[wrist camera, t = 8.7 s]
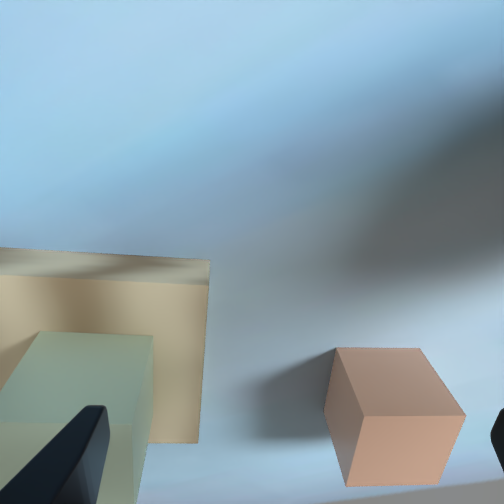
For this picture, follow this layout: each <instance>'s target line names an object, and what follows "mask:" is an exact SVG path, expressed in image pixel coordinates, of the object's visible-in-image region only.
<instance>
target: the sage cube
mask: <svg viewBox="0 0 504 504" xmlns="http://www.w3.org/2000/svg"><path fill="white" fill-rule="evenodd" d="M87 405H105V406H106V408H107V412H108V419H109V427H110V441H109V446H108V451H107V455H106V460H105V465H104V469H103V474H102V479H101V483H100V488H99V493H98V497H97V502H96V504H136V502H137V497H138V492H139V486H140V481H141V476H142V471H143V465H144V460H145V455H146V450H147V444H148V439H149V434H150V429H151V423H152V418H153V336H145V335H121V334H98V333H74V332H51V331H40V332H39V334H38V335H37V337H36V338H35V340H34V341H33V343H32V344H31V346H30V347H29V349H28V350H27V352H26V353H25V355H24V356H23V358H22V359H21V361H20V362H19V364H18V365H17V367H16V368H15V370H14V371H13V373H12V374H11V376H10V377H9V379H8V381H7V382H6V384H5V385H4V387H3V388H2V390H1V391H0V490H1V489H2V488H3V487H4V486H5V485H6V484H7V483H8V482H9V481H10V480H11V479H12V478H13V477H14V476H15V475H16V474H17V473H18V472H19V471H20V470H21V469H22V468H23V467H24V466H25V465H26V464H27V463H28V462H29V461H30V460H31V459H32V458H33V457H34V456H35V455H36V454H37V453H38V452H39V451H40V450H41V449H42V448H43V447H44V446H45V445H46V444H47V443H48V442H49V441H50V440H51V439H52V438H53V437H54V436H55V435H56V434H57V433H58V432H59V431H60V430H61V429H63V428H64V427H65V426H66V425H67V424H68V423H69V422H70V421H71V420H72V419H73V418H74V417H75V416H76V415H77V414H78V413H79V412H80V411H81V410H82V409H83V408H84V407H85V406H87Z"/></svg>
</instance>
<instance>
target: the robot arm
mask: <svg viewBox="0 0 504 504" xmlns="http://www.w3.org/2000/svg"><path fill="white" fill-rule="evenodd" d="M109 441H110V427H109V419H108V412H107V408H106V406H105V405H87V406H85V407H84V408H83V409H82V410H81V411H80V412H79V413H78V414H77V415H76V416H75V417H74V418H73V419H72V420H71V421H70V422H69V423H68V424H67V425H66V426H65V427H64V428H63V429H61V430H60V431H59V432H58V433H57V434H56V435H55V436H54V437H53V438H52V439H51V440H50V441H49V442H48V443H47V444H46V445H45V446H44V447H43V448H42V449H41V450H40V451H39V452H38V453H37V454H36V455H35V456H34V457H33V458H32V459H31V460H30V461H29V462H28V463H27V464H26V465H25V466H24V467H23V468H22V469H21V470H20V471H19V472H18V473H17V474H16V475H15V476H14V477H13V478H12V479H11V480H10V481H9V482H8V483H7V484H6V485H5V486H4V487H3V488H2V489H1V490H0V504H96V502H97V497H98V493H99V488H100V483H101V479H102V474H103V469H104V465H105V460H106V455H107V451H108V446H109ZM491 442H492V445H493V447H494V450H495V452H496V454H497V457H498V459H499V462H500V464H501V466H502V469H503V471H504V408H503V409H502V410H501V411H500V412H499V415H498V417H497V419H496V421H495V423H494V426H493V428H492V430H491Z"/></svg>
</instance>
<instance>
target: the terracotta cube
mask: <svg viewBox="0 0 504 504" xmlns="http://www.w3.org/2000/svg"><path fill="white" fill-rule="evenodd" d="M323 412H324V415H325V418H326V422H327V425H328V429H329V432H330V435H331V439H332V442H333V445H334V449H335V452H336V456H337V459H338V462H339V466H340V469H341V472H342V476H343V479H344V483H345V486H346V487H354V486H392V485H431V484H438V483H439V480H440V478H441V475H442V473H443V471H444V468H445V466H446V463H447V461H448V458H449V456H450V454H451V451H452V449H453V446H454V444H455V442H456V439H457V437H458V434H459V432H460V429H461V427H462V425H463V422H464V420H465V417H466V414H465V413H464V412H463V410H462V409H461V407H460V406H459V404H458V403H457V401H456V400H455V399H454V397H453V396H452V394H451V393H450V391H449V390H448V388H447V387H446V386H445V384H444V383H443V381H442V380H441V378H440V377H439V375H438V374H437V373H436V371H435V370H434V368H433V367H432V365H431V364H430V362H429V361H428V360H427V358H426V357H425V355H424V354H423V352H422V351H421V349H420V348H339V347H336V351H335V356H334V361H333V366H332V371H331V376H330V381H329V386H328V391H327V396H326V401H325V406H324V411H323Z"/></svg>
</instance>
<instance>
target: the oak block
mask: <svg viewBox="0 0 504 504" xmlns="http://www.w3.org/2000/svg"><path fill="white" fill-rule="evenodd" d="M209 269H210V260H202V259H185V258H169V257H152V256H136V255H119V254H102V253H86V252H69V251H53V250H36V249H19V248H3V247H0V391H1V390H2V388H3V387H4V385H5V384H6V382H7V381H8V379H9V377H10V376H11V374H12V373H13V371H14V370H15V368H16V367H17V365H18V364H19V362H20V361H21V359H22V358H23V356H24V355H25V353H26V352H27V350H28V349H29V347H30V346H31V344H32V343H33V341H34V340H35V338H36V337H37V335H38V334H39V332H40V331H51V332H74V333H98V334H121V335H145V336H153V418H152V423H151V429H150V434H149V439H148V443H198V437H199V423H200V408H201V393H202V379H203V364H204V349H205V335H206V320H207V306H208V291H209Z"/></svg>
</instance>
